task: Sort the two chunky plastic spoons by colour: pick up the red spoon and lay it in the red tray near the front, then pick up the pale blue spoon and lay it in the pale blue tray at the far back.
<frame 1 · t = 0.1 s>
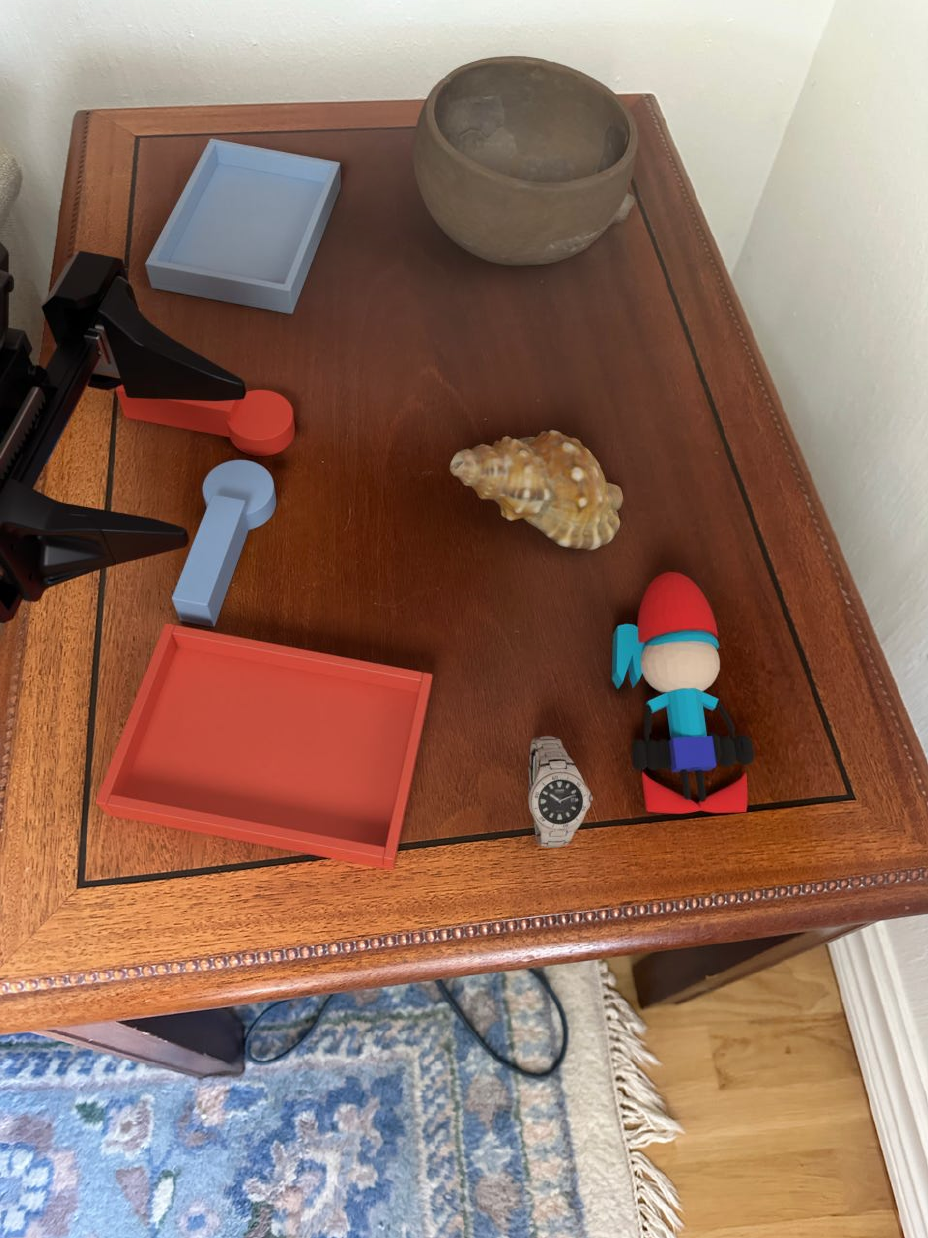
hand: (217, 459, 43), 16 cm above the table, tool horizontal, fingers open, 9 cm apart
red spoon: (185, 416, 64), on the table
wristwatch: (545, 802, 53), on the table
bowl: (513, 229, 78), on the table
red tray: (276, 749, 53), on the table
toy figure: (670, 702, 57), on the table
blue tray: (251, 234, 74), on the table
blue spoon: (216, 571, 58), on the table
seashell: (534, 512, 63), on the table
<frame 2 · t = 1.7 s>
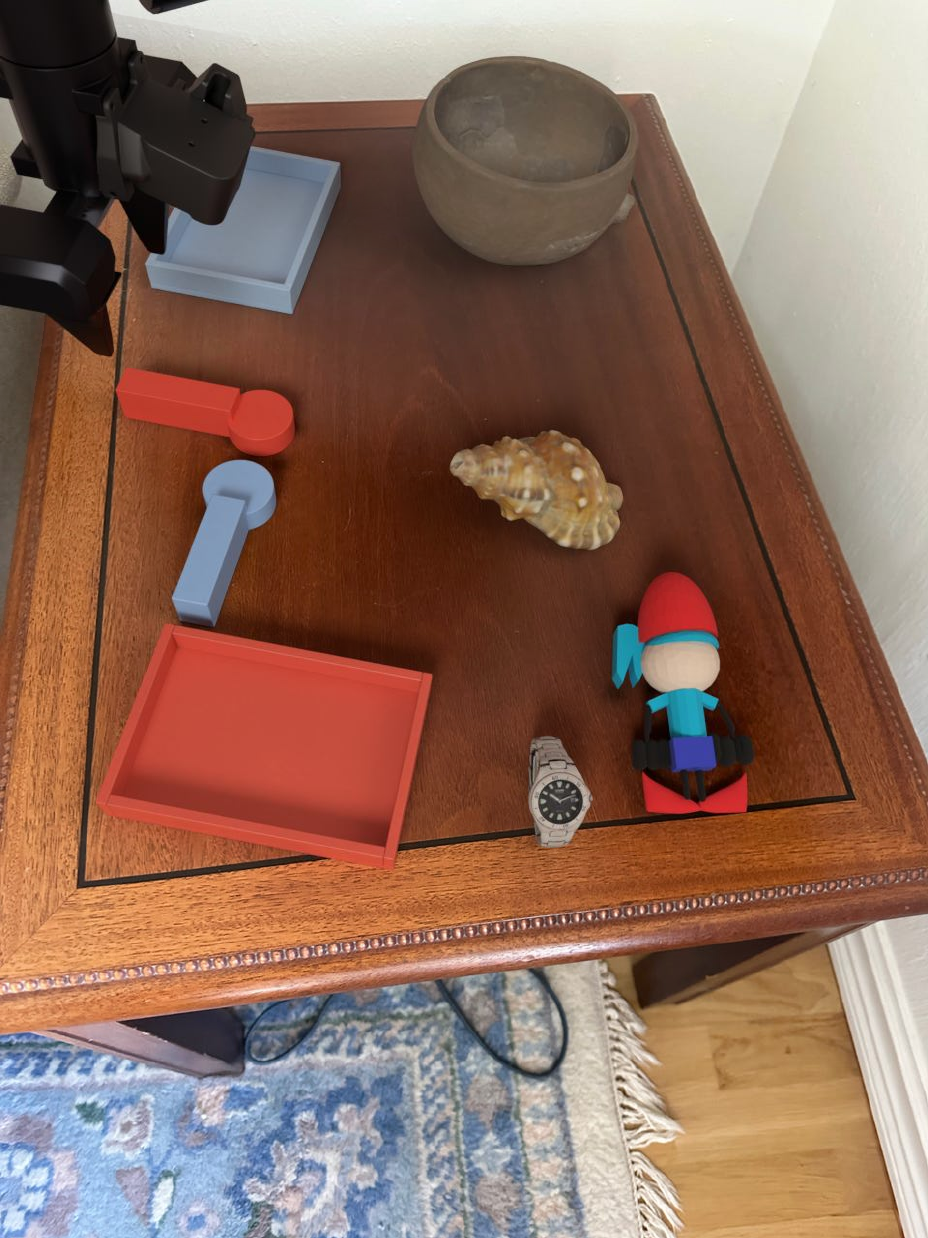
hand: (132, 300, 55), 10 cm above the table, tool pointing down, fingers open, 9 cm apart
nothing on the table moved.
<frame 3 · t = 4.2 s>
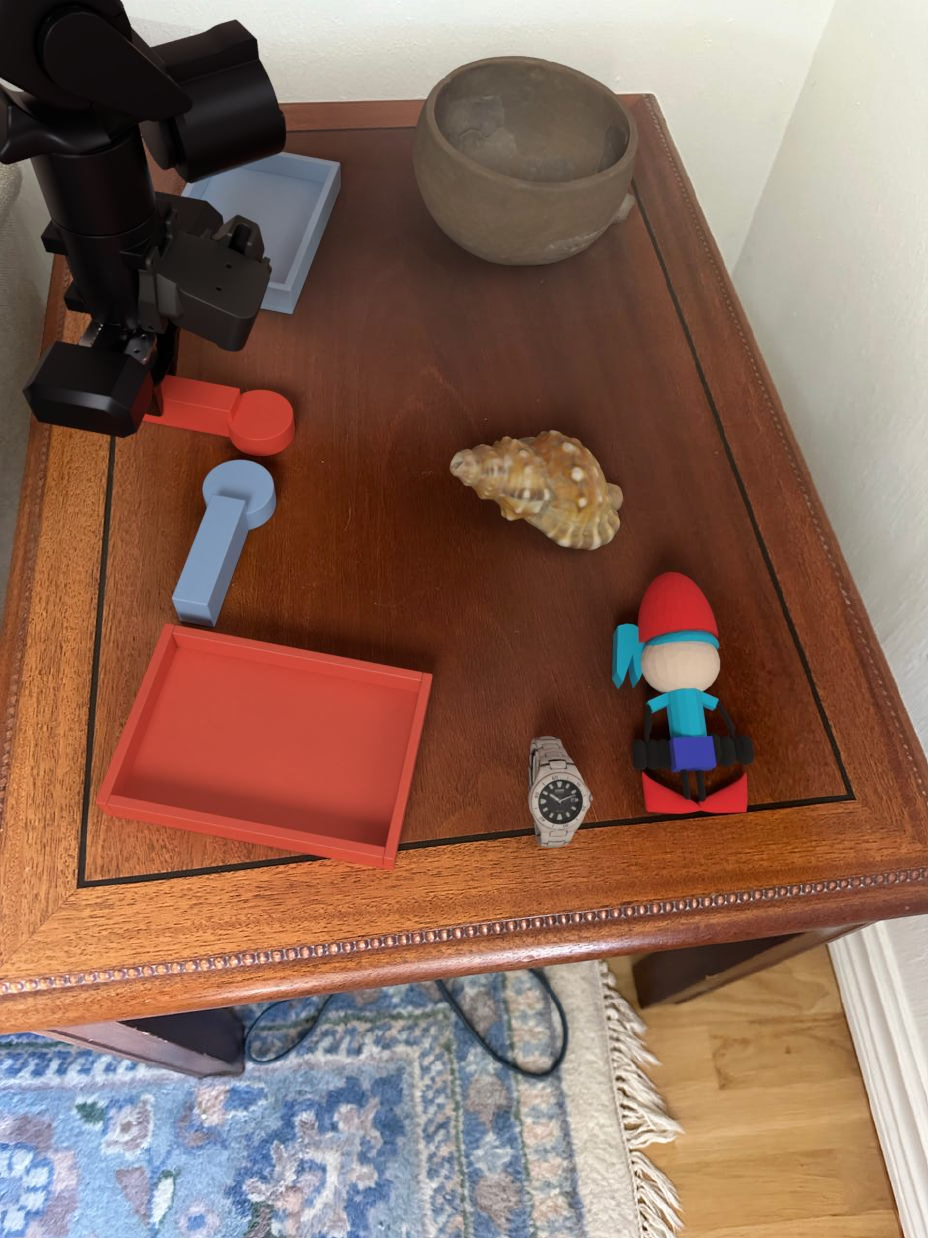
hand: (161, 401, 63), 1 cm above the table, tool pointing down, fingers closed on red spoon, 2 cm apart
red spoon: (185, 416, 64), on the table, touching gripper
everything else where it was.
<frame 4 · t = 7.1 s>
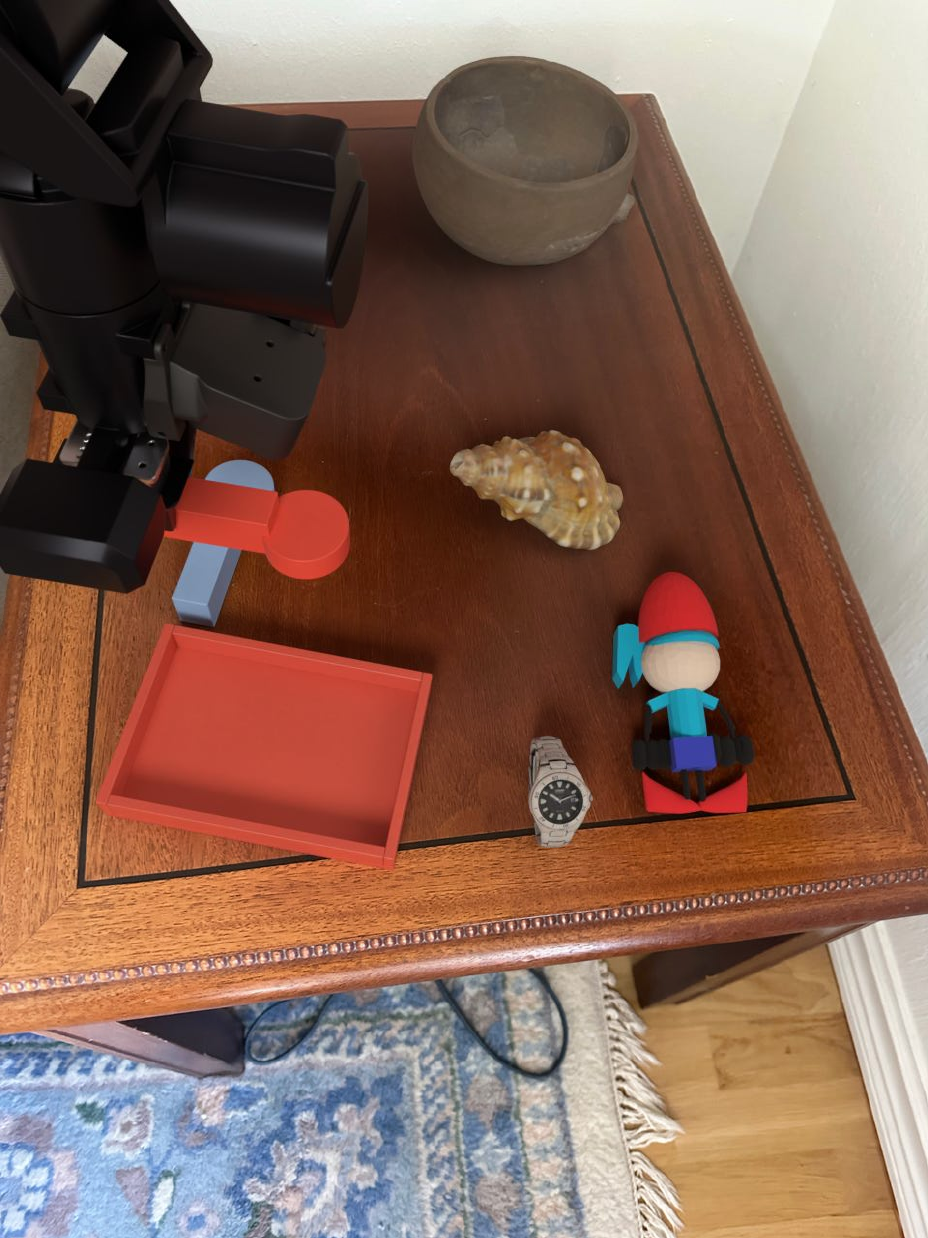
hand: (172, 509, 48), 10 cm above the table, tool pointing down, fingers closed on red spoon, 2 cm apart
red spoon: (205, 526, 49), point 9 cm above the table, touching gripper
everything else where it was.
when the fingers open (2 cm above the table, at t = 9.9 s): red spoon stays where it is, resting on red tray.
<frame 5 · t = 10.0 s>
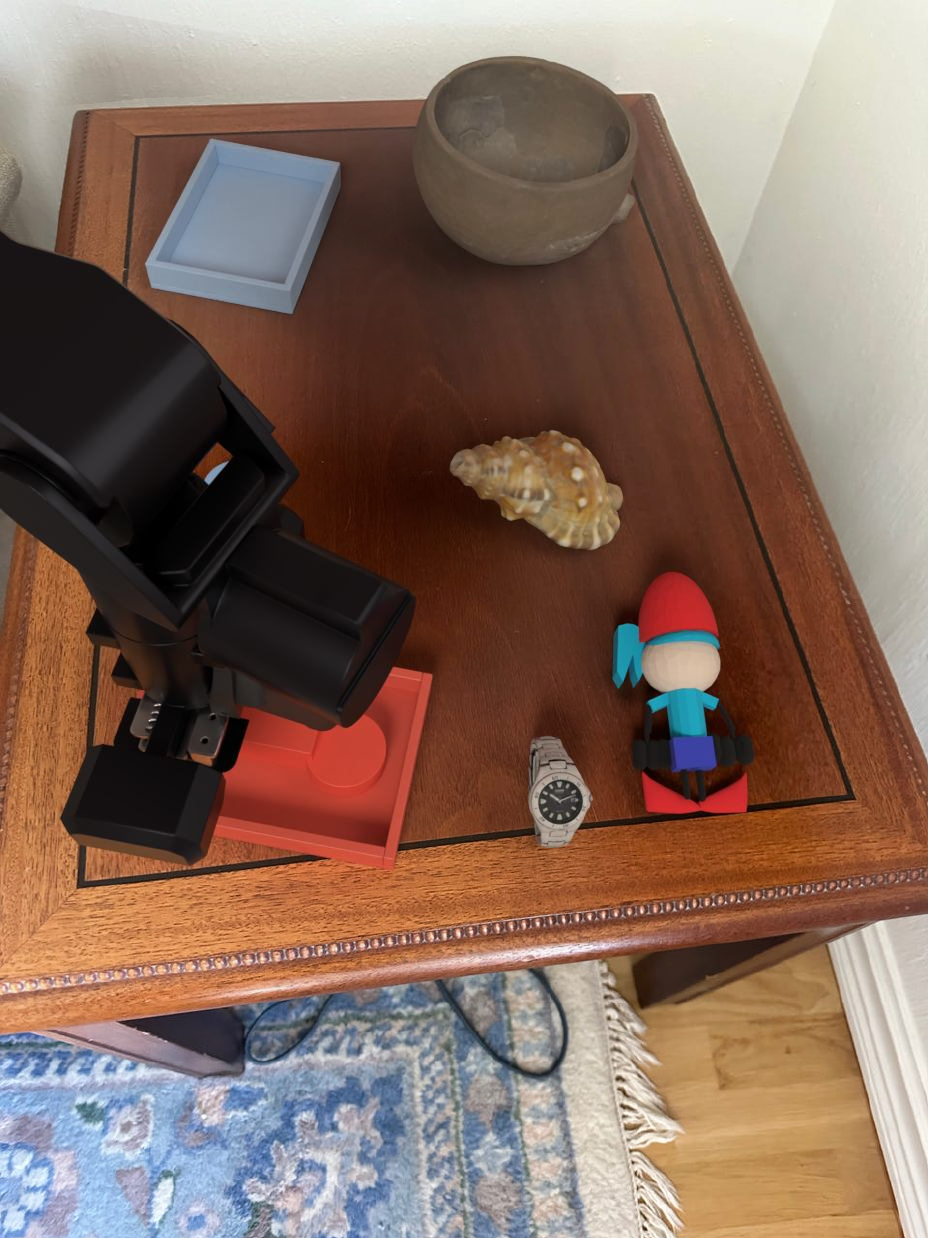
hand: (222, 728, 51), 2 cm above the table, tool pointing down
red spoon: (251, 740, 52), resting on red tray
everything else where it was.
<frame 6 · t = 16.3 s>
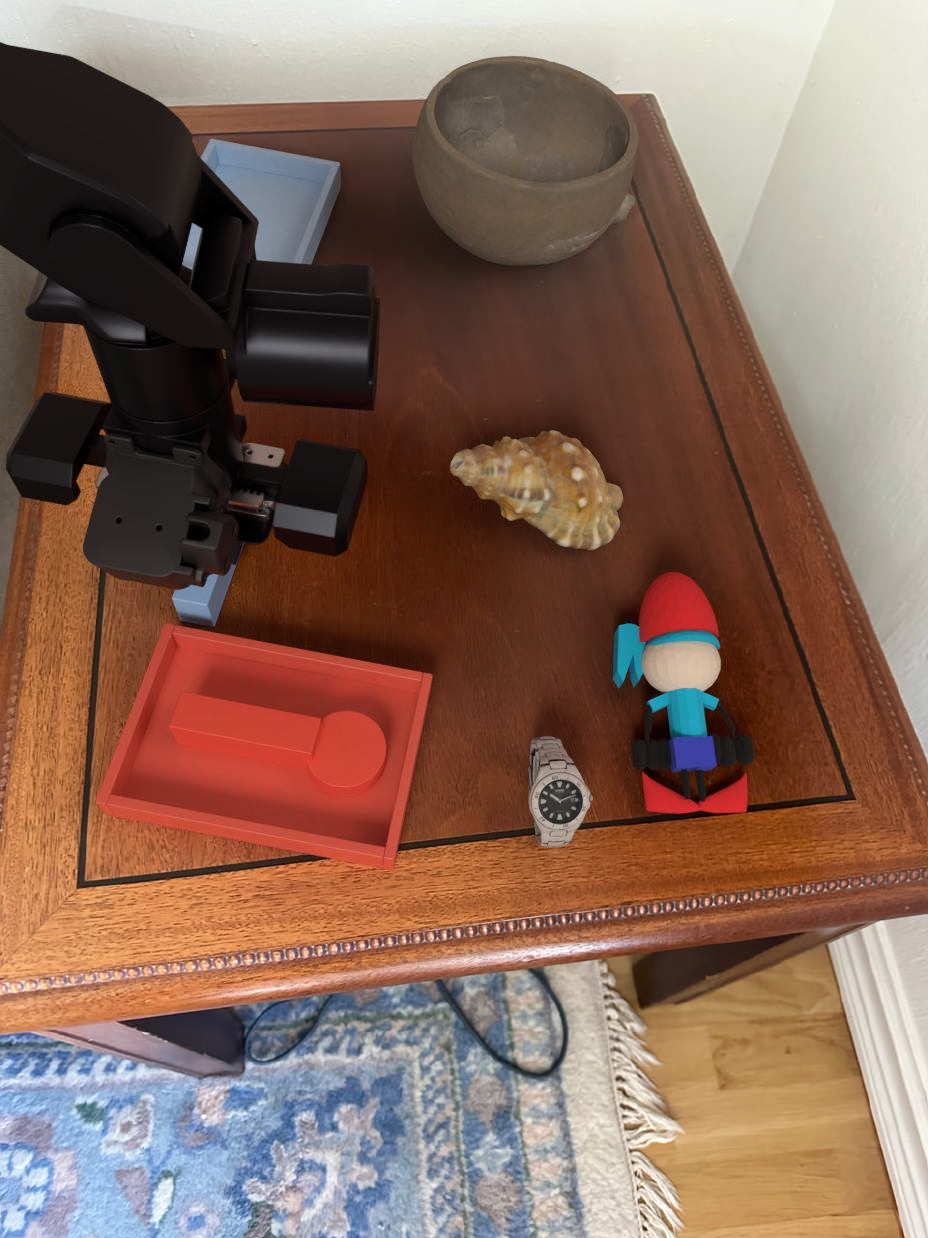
hand: (215, 555, 57), 1 cm above the table, tool pointing down, fingers closed on blue spoon, 2 cm apart
blue spoon: (216, 571, 58), on the table, touching gripper
everything else where it was.
when the fingers open (2 cm above the table, at t = 22.2 s): blue spoon stays where it is, resting on blue tray.
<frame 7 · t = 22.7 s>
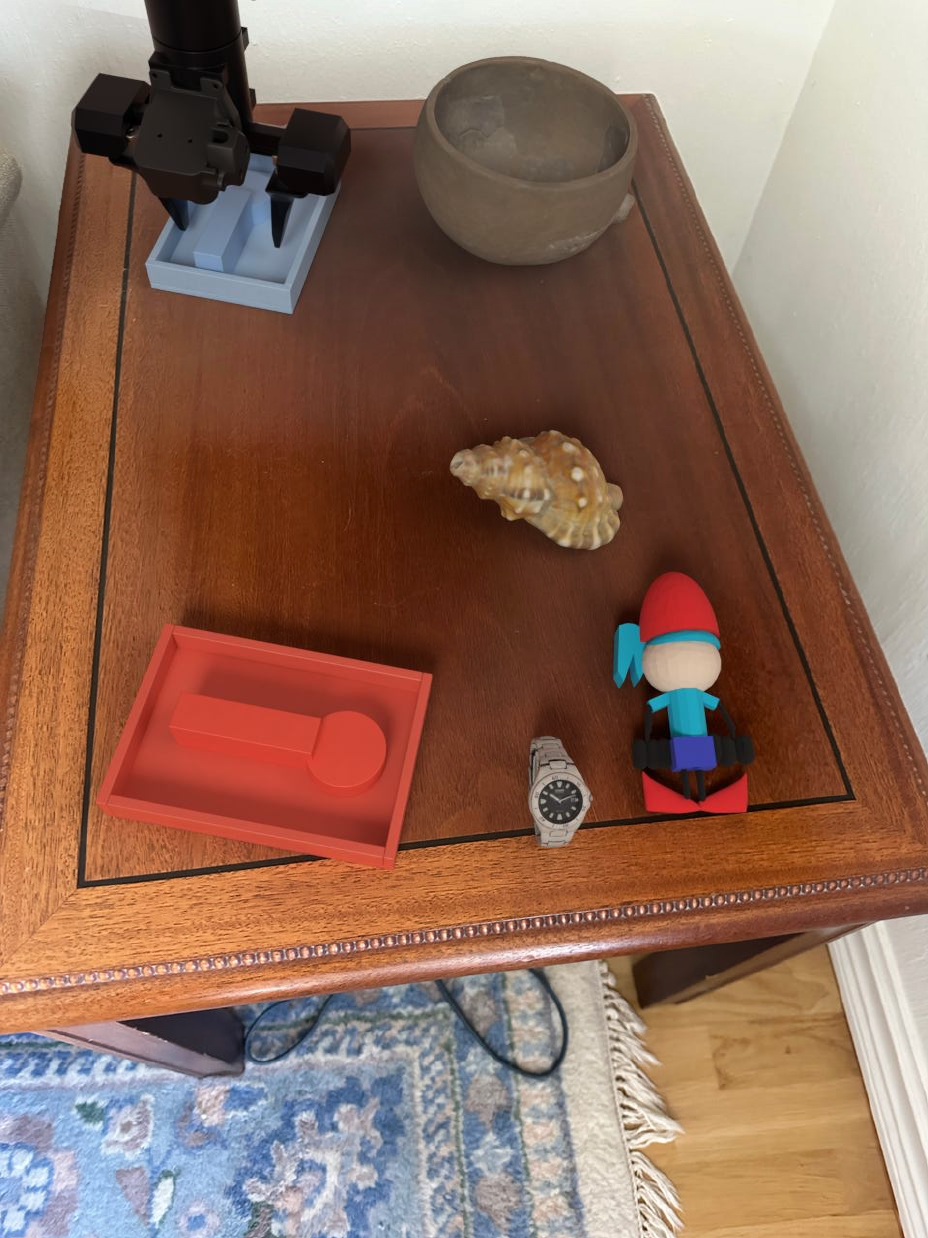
hand: (231, 236, 71), 2 cm above the table, tool pointing down, fingers open, 7 cm apart
blue spoon: (227, 251, 72), resting on blue tray
everything else where it was.
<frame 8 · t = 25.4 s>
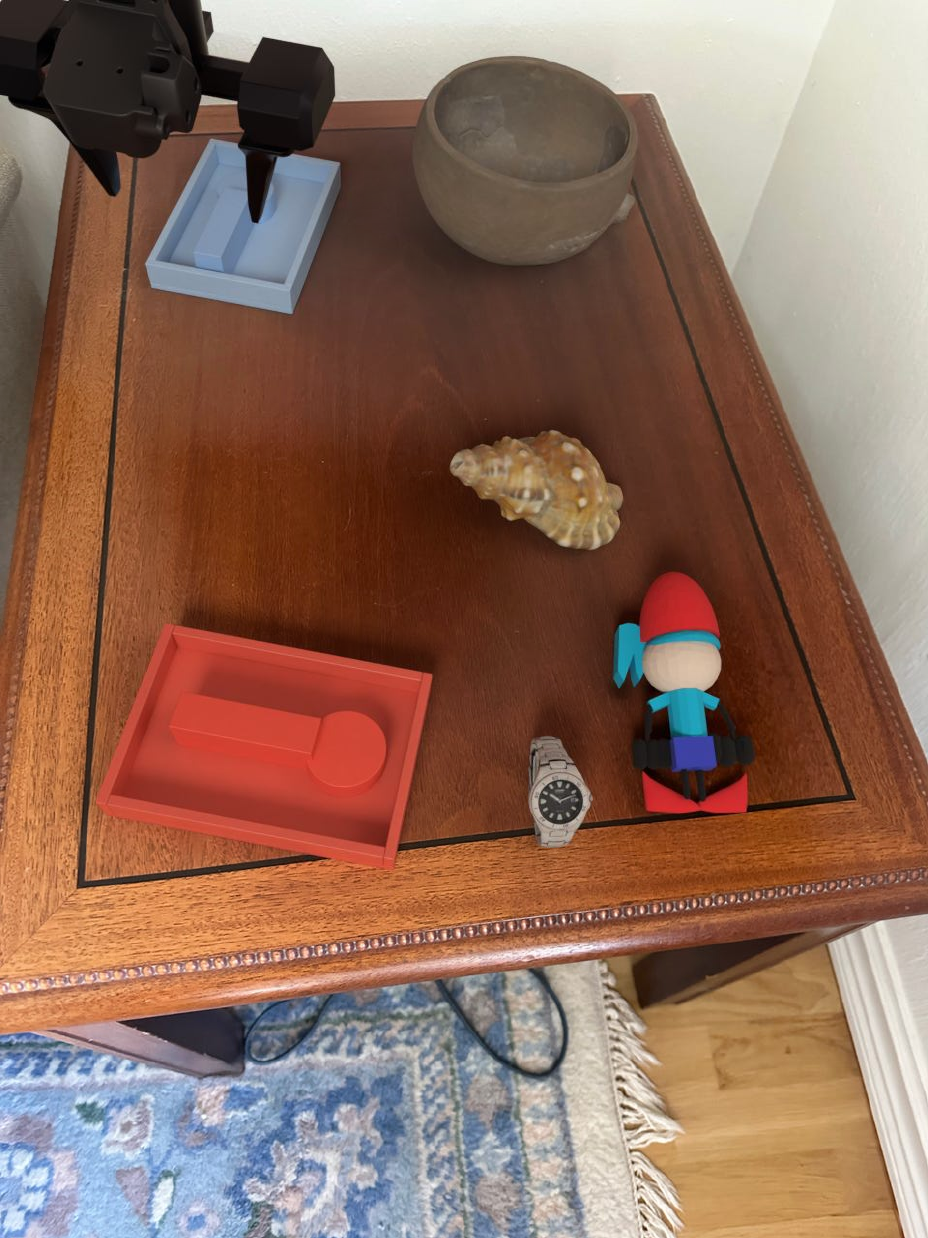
hand: (186, 205, 57), 12 cm above the table, tool pointing down, fingers open, 9 cm apart
nothing on the table moved.
at the end: red spoon inside the target area in the red tray (1.5 cm from its centre), point 0.5 cm above the red tray's base; blue spoon inside the target area in the blue tray (3.2 cm from its centre), point 0.5 cm above the blue tray's base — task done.
